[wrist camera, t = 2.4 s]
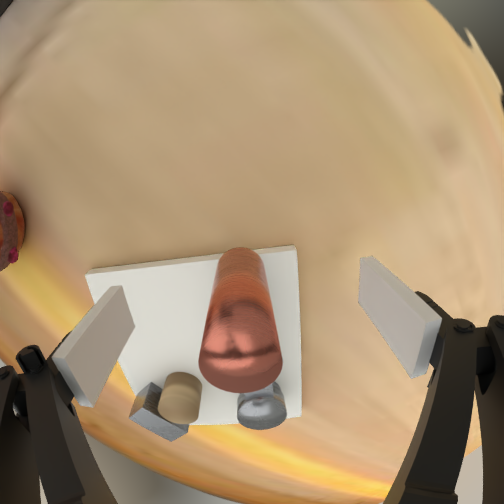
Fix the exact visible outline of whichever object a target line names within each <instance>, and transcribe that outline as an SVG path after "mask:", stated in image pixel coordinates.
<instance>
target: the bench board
mask: <svg viewBox="0 0 504 504" xmlns="http://www.w3.org/2000/svg"><path fill="white" fill-rule="evenodd" d="M253 251H254V252H256V253H257V254H258V255H259V256H260V257H261V259H262V261H263V263H264V267H265V272H266V277H267V282H268V287H269V292H270V297H271V302H272V307H273V313H274V318H275V323H276V328H277V333H278V338H279V343H280V349H281V354H282V359H283V366H282V370H281V373H280V374H279V376H278V377H277V379H276V380H275V381H274V382H273V383H272V385H273V387H275V388H277V389H279V390H280V391H281V392H282V393H283V395H284V399H285V405H286V411H287V417H286V419H287V418H294V417H300V416H301V408H302V387H301V331H300V303H299V282H298V264H297V250H296V248H295V246H294V245H288V246H280V247H272V248H263V249H255V250H253ZM223 254H224V253H221V254H213V255H204V256H196V257H188V258H179V259H171V260H163V261H154V262H146V263H138V264H130V265H121V266H113V267H105V268H97V269H91V270H90V271H88V272H87V273H86V274H85V277H86V280H87V283H88V286H89V289H90V292H91V295H92V298H93V301H94V304H95V303H96V302H97V301H98V300H99V299H100V298H101V297H102V295H103V294H104V293H105V292H106V291H107V290H108V289H109V288H110V286H119V285H122V287H123V290H124V294H125V297H126V300H127V303H128V306H129V309H130V312H131V315H132V318H133V321H134V324H135V328H134V330H133V332H132V334H131V336H130V337H129V339H128V341H127V343H126V345H125V347H124V348H123V350H122V352H121V354H120V356H119V358H118V362H119V364H120V366H121V368H122V370H123V372H124V374H125V376H126V378H127V380H128V382H129V384H130V386H131V388H132V390H133V392H134V394H135V396H137V394H138V393H139V392H140V391H141V390H142V389H143V388H144V387H146V386H147V385H148V384H149V383H150V382H152V383H154V384H155V385H157V386H159V387H160V388H162V389H163V387H164V383H165V380H166V377H167V376H168V375H169V374H171V373H174V372H186V373H189V374H192V375H194V376H195V377H197V378H198V379H199V380H200V382H201V383H202V394H201V402H200V409H199V416H198V419H197V420H196V421H195V422H193V423H190V424H189V425H217V424H237V423H239V421H238V419H237V398H238V396H239V395H240V393H232V392H227V391H224V390H221V389H219V388H216V387H215V386H213V385H212V384H210V383H209V382H208V381H207V380H206V379H205V378H204V377H203V375H202V374H201V372H200V369H199V365H198V360H199V354H200V348H201V343H202V338H203V333H204V327H205V322H206V317H207V312H208V307H209V302H210V297H211V292H212V288H213V283H214V278H215V273H216V268H217V264H218V261H219V259H220V258H221V256H222V255H223Z"/></svg>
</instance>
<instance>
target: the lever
mask: <svg viewBox="0 0 504 504" xmlns="http://www.w3.org/2000/svg"><path fill="white" fill-rule="evenodd" d="M198 365H199V369H200V372H201V374H202V375H203V377H204V378H205V379H206V380H207V381H208V382H209V383H210V384H212V385H213V386H215V387H216V388H219V389H221V390H224V391H227V392H232V393H240V395H239V396H238V398H237V419H238V421H239V423H240V424H242V425H243V426H245V427H247V428H250V429H256V430H264V429H270V428H273V427H276V426H278V425H280V424H281V423H282V422H283V421H284V420H285V419H286V417H287V411H286V405H285V399H284V395H283V393H282V392H281V391H280V390H279V389H277V388H275V387H273V385H272V383H273V382H274V381H275V380H276V379H277V377H278V376H279V374H280V373H281V370H282V366H283V359H282V354H281V349H280V343H279V338H278V333H277V328H276V323H275V318H274V313H273V307H272V302H271V297H270V292H269V287H268V282H267V277H266V272H265V267H264V263H263V261H262V259H261V257H260V256H259V255H258V254H257V253H256V252H254V251H253V250H250V249H248V248H234V249H231V250H229V251H227V252H225V253H224V254H223V255H222V256H221V258H220V259H219V261H218V264H217V268H216V273H215V278H214V283H213V288H212V292H211V297H210V302H209V307H208V312H207V317H206V322H205V327H204V333H203V338H202V343H201V348H200V354H199V360H198Z"/></svg>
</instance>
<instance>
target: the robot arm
mask: <svg viewBox="0 0 504 504" xmlns="http://www.w3.org/2000/svg"><path fill="white" fill-rule="evenodd" d="M11 1H12V0H0V16H1V14H2V13H3V12H4V11H5V9H6V8H7V7H8V5H9V4H10V3H11ZM358 303H359V304H360V306H361V307H362V308H363V310H364V311H365V312H366V314H367V315H368V317H369V318H370V319H371V321H372V322H373V324H374V325H375V326H376V328H377V329H378V331H379V332H380V334H381V335H382V336H383V338H384V339H385V341H386V342H387V344H388V345H389V347H390V348H391V349H392V351H393V352H394V354H395V355H396V357H397V358H398V360H399V361H400V363H401V364H402V366H403V367H404V369H405V370H406V372H407V373H408V375H409V376H410V378H411V379H412V378H415V377H418V376H421V375H423V374H426V372H427V369H428V366H429V363H430V364H431V365H432V366H433V367H434V370H433V373H432V376H431V378H430V381H429V384H428V386H427V387H429V388H428V392H427V395H426V399H425V402H424V406H423V409H422V412H421V415H420V419H419V422H418V425H417V427H416V430H415V433H414V436H413V439H412V441H411V444H410V446H409V449H408V451H407V454H406V456H405V459H404V461H403V463H402V466H401V468H400V470H399V472H398V475H397V477H396V479H395V481H394V483H393V485H392V487H391V489H390V491H389V493H388V495H387V497H386V499H385V501H384V503H383V504H457V502H458V496H457V495H456V494H455V491H454V490H455V486H456V483H457V479H458V476H459V472H460V469H461V465H462V461H463V457H464V453H465V448H466V444H467V439H468V434H469V428H470V422H471V415H472V408H473V400H474V390H475V394H476V400H477V406H478V413H479V420H480V429H481V439H482V453H483V502H482V504H504V316H502V315H501V316H500V315H495V316H492V317H491V318H490V320H489V322H488V326H487V327H479V328H476V327H475V325H474V324H473V323H472V322H470V321H468V320H465V319H458V318H457V319H453V318H452V317H451V316H449V315H448V314H447V313H446V312H445V311H444V310H443V309H442V308H441V307H440V306H438V305H437V304H436V303H435V302H433V300H432V299H431V298H430V297H428V296H427V295H425V294H423V293H421V292H419V291H417V292H413V291H412V290H411V289H410V288H409V287H408V286H407V285H406V284H405V283H403V282H402V281H401V280H400V279H399V278H398V277H397V276H395V275H394V274H393V273H392V272H391V271H390V270H389V269H387V268H386V267H385V266H384V265H383V264H382V263H380V262H379V261H378V260H377V259H376V258H374V257H373V256H370V257H362V258H360V280H359V299H358ZM134 328H135V324H134V321H133V318H132V315H131V312H130V309H129V306H128V303H127V300H126V297H125V294H124V290H123V287H122V285H119V286H110V288H109V289H108V290H107V291H106V292H105V293H104V294H103V295H102V297H101V298H100V299H99V300H98V301H97V302H96V303H95V304H94V306H93V307H92V308H91V309H90V310H89V311H88V313H87V314H86V315H85V316H84V317H83V318H82V320H81V321H80V322H79V323H78V324H77V326H76V327H75V328H74V329H73V330H72V331H71V332H69V333H68V334H67V335H66V336H65V337H64V338H63V340H62V342H60V343H59V345H58V347H56V348H55V350H54V351H53V352H52V353H51V355H50V356H49V357H48V358H47V360H45V358H44V356H43V354H42V352H41V350H40V348H39V346H37V345H30V346H27V347H25V348H23V349H22V350H21V351H19V353H18V354H17V355H16V360H17V362H18V364H19V365H20V367H21V369H22V370H23V372H24V373H23V374H17V373H16V371H15V369H14V368H13V366H4V367H1V368H0V504H41V498H40V481H39V475H40V479H41V483H42V486H43V489H44V493H45V496H46V499H47V502H48V504H118V503H117V501H116V499H115V498H114V496H113V494H112V492H111V491H110V489H109V487H108V485H107V483H106V481H105V479H104V477H103V475H102V473H101V471H100V469H99V467H98V465H97V463H96V461H95V459H94V456H93V454H92V452H91V449H90V447H89V444H88V442H87V440H86V437H85V435H84V432H83V429H82V427H81V424H80V421H79V418H78V416H77V413H76V410H75V407H74V405H73V404H72V403H71V401H72V399H73V397H75V398H76V400H77V401H78V403H79V404H80V405H81V406H87V407H94V405H95V403H96V401H97V399H98V397H99V395H100V393H101V391H102V389H103V387H104V385H105V383H106V381H107V379H108V377H109V375H110V373H111V371H112V369H113V367H114V365H115V364H116V362H117V360H118V358H119V356H120V354H121V352H122V350H123V348H124V347H125V345H126V343H127V341H128V339H129V337H130V336H131V334H132V332H133V330H134ZM13 408H14V409H15V411H16V412H17V414H16V415H15V414H14V411H13Z"/></svg>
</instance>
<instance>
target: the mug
mask: <svg viewBox="0 0 504 504" xmlns="http://www.w3.org/2000/svg"><path fill="white" fill-rule="evenodd" d="M24 228H25V225H24V219H23V215H22V211H21V208H20V207H19V205H18V203H17V201H16V200H15V198H14V196H12V195H11V194H10V193H7V192H3V191H2V192H1V191H0V271H2V270H3V269H5V268H6V267H8V265H9V264H10V263H14V262H16V261H17V260H18V252H19V250H20V249H21V247H22V244H23V237H24Z"/></svg>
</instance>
